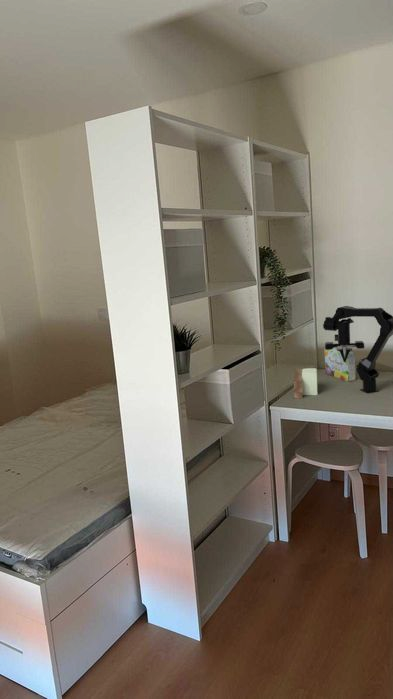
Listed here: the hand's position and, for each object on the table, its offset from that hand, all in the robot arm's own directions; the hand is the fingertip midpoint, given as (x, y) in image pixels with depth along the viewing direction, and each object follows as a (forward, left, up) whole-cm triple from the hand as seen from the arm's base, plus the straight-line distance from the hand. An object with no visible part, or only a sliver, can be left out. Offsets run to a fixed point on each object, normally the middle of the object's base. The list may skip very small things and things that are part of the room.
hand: (344, 362), depth 270 cm
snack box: (+18, -8, -13) cm, 24 cm away
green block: (+1, +19, -13) cm, 23 cm away
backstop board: (+4, +24, -13) cm, 28 cm away
